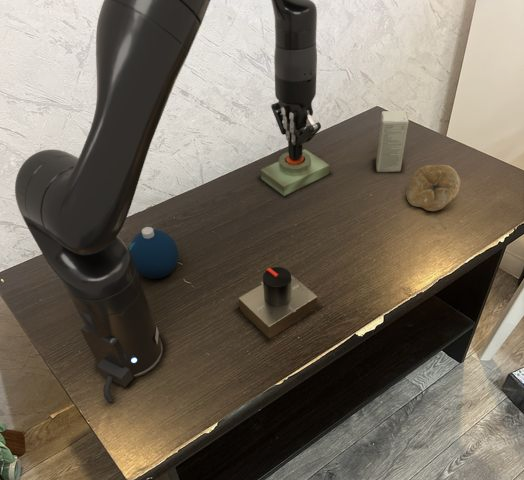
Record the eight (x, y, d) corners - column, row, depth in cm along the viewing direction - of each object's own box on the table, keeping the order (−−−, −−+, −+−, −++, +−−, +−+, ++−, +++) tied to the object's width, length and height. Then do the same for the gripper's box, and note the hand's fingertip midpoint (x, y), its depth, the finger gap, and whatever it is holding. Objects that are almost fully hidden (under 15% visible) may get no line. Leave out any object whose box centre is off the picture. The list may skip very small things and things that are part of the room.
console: (270, 340, 79) (269, 327, 77) (238, 309, 84) (237, 296, 81) (318, 310, 83) (318, 296, 80) (285, 282, 87) (284, 268, 85)
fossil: (416, 160, 98) (467, 165, 92) (423, 168, 102) (472, 174, 96) (400, 204, 99) (449, 213, 93) (407, 211, 103) (455, 220, 97)
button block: (284, 196, 102) (283, 178, 99) (261, 178, 107) (260, 161, 103) (328, 174, 106) (329, 157, 103) (304, 158, 111) (305, 141, 107)
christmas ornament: (145, 253, 94) (132, 209, 86) (188, 259, 92) (178, 214, 84) (128, 285, 89) (112, 240, 81) (173, 291, 87) (161, 246, 79)
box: (399, 160, 108) (408, 110, 99) (400, 172, 106) (410, 121, 97) (374, 160, 109) (381, 110, 100) (375, 172, 106) (382, 121, 97)
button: (293, 172, 103) (293, 165, 102) (282, 165, 105) (282, 157, 103) (307, 166, 104) (307, 158, 103) (296, 159, 106) (296, 151, 105)
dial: (297, 297, 81) (297, 275, 77) (276, 311, 79) (275, 289, 75) (278, 283, 83) (278, 261, 79) (258, 296, 81) (257, 274, 77)
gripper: (256, 63, 92) (261, 151, 105) (302, 89, 85) (301, 179, 99) (289, 51, 94) (289, 138, 108) (336, 75, 87) (330, 165, 101)
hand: (295, 158), depth 103 cm, fingers closed
